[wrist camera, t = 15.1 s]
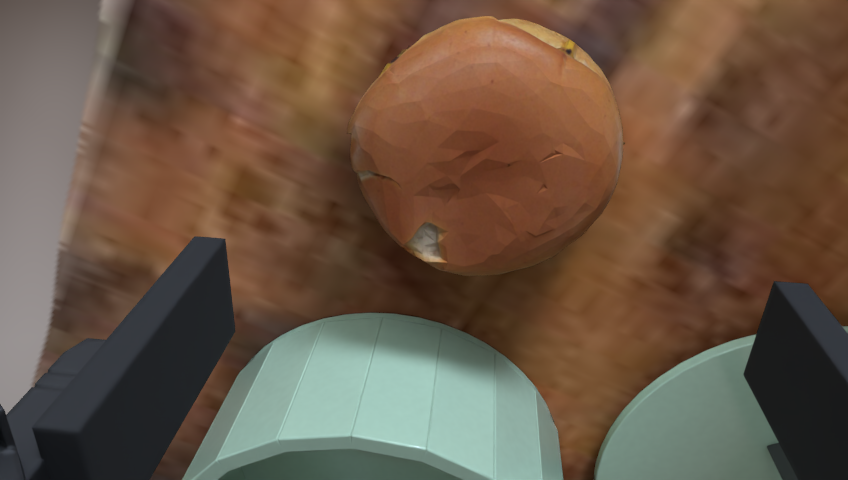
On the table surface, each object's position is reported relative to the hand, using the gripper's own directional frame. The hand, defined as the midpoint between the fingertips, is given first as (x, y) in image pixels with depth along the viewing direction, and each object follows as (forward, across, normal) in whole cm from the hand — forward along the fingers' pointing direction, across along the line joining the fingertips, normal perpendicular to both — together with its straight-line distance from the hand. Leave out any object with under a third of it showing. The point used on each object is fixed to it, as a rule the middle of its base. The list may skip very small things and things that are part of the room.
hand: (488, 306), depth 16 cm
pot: (+12, -4, -17) cm, 21 cm away
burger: (+12, 0, 0) cm, 12 cm away
